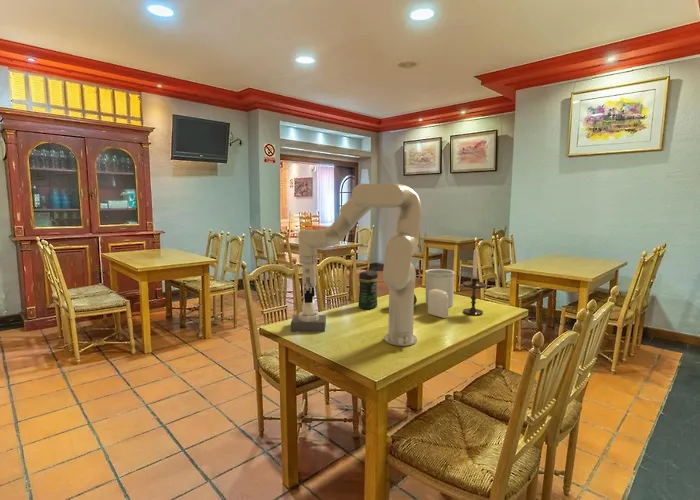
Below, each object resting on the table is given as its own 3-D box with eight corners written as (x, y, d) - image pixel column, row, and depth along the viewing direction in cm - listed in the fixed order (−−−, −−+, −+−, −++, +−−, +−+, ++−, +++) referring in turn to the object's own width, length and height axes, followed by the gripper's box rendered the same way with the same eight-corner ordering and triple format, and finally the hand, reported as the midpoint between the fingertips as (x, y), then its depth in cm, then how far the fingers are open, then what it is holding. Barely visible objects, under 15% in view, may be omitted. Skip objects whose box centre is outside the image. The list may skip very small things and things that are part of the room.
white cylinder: (314, 320, 163) (314, 302, 162) (302, 320, 163) (302, 301, 162) (315, 316, 168) (315, 298, 167) (303, 316, 168) (303, 298, 167)
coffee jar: (368, 310, 191) (369, 273, 189) (356, 307, 196) (356, 271, 194) (380, 306, 199) (380, 270, 196) (367, 303, 204) (367, 268, 201)
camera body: (324, 331, 162) (324, 317, 161) (290, 331, 162) (290, 317, 161) (326, 323, 172) (325, 310, 171) (294, 323, 171) (293, 310, 171)
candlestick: (488, 312, 188) (492, 240, 184) (478, 317, 181) (482, 242, 176) (467, 308, 196) (470, 238, 191) (457, 312, 188) (460, 240, 183)
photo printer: (426, 313, 187) (426, 288, 185) (431, 312, 189) (432, 287, 188) (443, 319, 179) (444, 292, 177) (449, 317, 181) (450, 291, 180)
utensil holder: (419, 305, 201) (420, 271, 199) (431, 299, 213) (432, 267, 211) (446, 310, 193) (447, 275, 190) (457, 303, 204) (459, 270, 202)
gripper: (315, 262, 154) (317, 304, 156) (318, 256, 171) (319, 294, 173) (296, 263, 154) (298, 305, 156) (301, 256, 171) (303, 294, 173)
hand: (309, 299), depth 165 cm, fingers open, 9 cm apart
